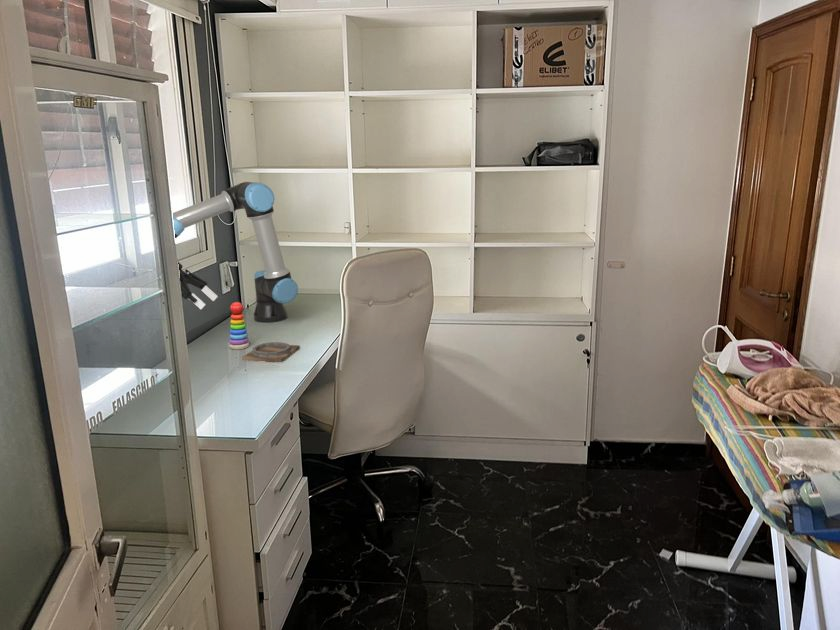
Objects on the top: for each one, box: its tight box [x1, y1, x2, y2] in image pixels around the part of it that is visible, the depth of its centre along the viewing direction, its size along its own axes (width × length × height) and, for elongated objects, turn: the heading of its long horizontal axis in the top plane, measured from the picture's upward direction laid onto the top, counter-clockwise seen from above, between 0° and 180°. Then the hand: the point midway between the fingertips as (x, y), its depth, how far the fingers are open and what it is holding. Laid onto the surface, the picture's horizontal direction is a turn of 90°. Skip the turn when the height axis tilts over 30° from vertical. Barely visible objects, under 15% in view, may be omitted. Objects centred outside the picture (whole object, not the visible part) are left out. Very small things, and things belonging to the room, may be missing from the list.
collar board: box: [241, 341, 301, 363], centre depth 250 cm, size 18×16×3 cm
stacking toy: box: [228, 301, 250, 351], centre depth 258 cm, size 8×8×19 cm
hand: (209, 302), depth 255 cm, fingers open, 13 cm apart
